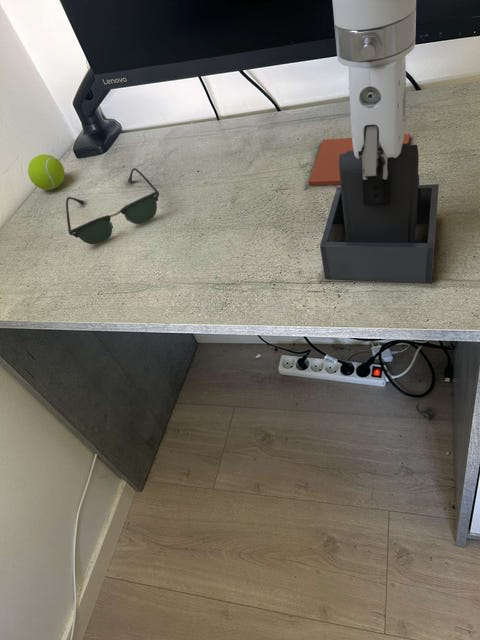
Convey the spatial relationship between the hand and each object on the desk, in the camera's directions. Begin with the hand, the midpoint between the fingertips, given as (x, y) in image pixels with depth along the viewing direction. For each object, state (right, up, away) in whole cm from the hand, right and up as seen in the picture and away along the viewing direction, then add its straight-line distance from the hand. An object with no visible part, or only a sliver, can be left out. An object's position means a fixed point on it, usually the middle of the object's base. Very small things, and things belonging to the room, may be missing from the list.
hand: (379, 190), depth 61 cm
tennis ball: (-57, +12, +43) cm, 72 cm away
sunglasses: (-41, +4, +30) cm, 51 cm away
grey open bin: (+2, -6, +7) cm, 10 cm away
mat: (+3, +11, +22) cm, 25 cm away
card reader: (+2, -6, +7) cm, 10 cm away
